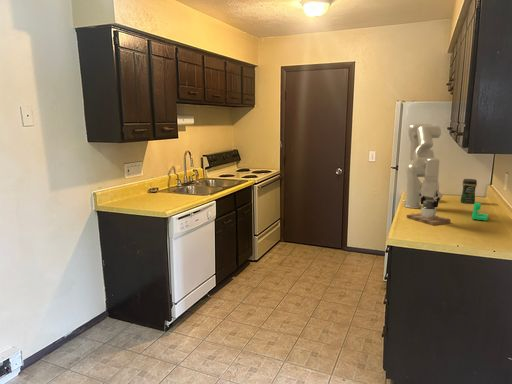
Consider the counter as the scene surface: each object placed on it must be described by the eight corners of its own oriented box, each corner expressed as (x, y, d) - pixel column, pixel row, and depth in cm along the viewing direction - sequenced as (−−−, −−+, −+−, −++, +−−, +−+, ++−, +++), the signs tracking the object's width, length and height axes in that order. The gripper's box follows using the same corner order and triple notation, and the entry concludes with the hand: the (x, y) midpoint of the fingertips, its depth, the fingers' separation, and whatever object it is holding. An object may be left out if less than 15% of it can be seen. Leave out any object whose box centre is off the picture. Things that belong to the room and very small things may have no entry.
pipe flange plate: (406, 217, 236) (407, 205, 235) (423, 215, 242) (424, 203, 240) (432, 225, 218) (433, 212, 217) (450, 222, 224) (451, 210, 222)
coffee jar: (461, 203, 281) (463, 179, 278) (459, 201, 288) (462, 177, 285) (475, 204, 277) (478, 180, 274) (474, 202, 284) (476, 178, 281)
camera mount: (485, 222, 226) (487, 205, 224) (471, 220, 231) (473, 204, 229) (487, 218, 235) (489, 202, 234) (474, 216, 240) (475, 201, 238)
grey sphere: (419, 211, 231) (420, 200, 230) (428, 210, 234) (428, 200, 232) (428, 214, 225) (429, 202, 223) (437, 213, 227) (438, 202, 226)
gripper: (415, 177, 232) (413, 203, 235) (438, 180, 216) (436, 209, 219) (424, 176, 235) (422, 202, 238) (447, 180, 219) (445, 208, 222)
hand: (429, 205), depth 228 cm, fingers open, 9 cm apart
